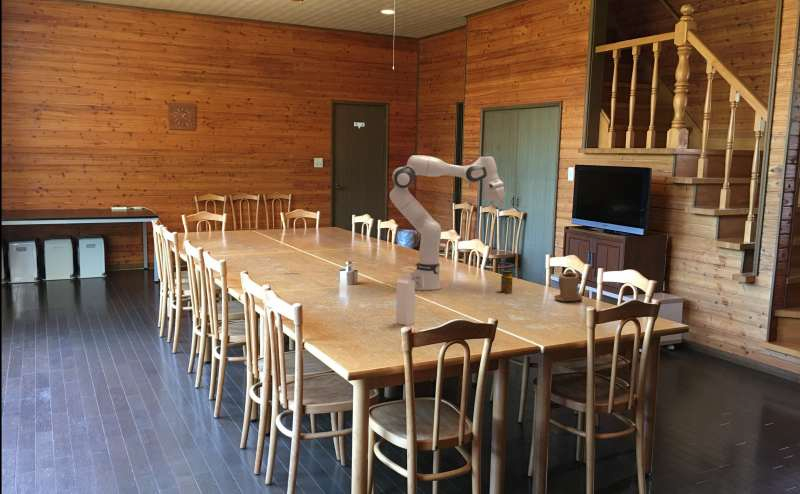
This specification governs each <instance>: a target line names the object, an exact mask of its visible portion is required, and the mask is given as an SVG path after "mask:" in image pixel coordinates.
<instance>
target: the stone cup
mask: <svg viewBox="0 0 800 494" xmlns="http://www.w3.org/2000/svg"><path fill="white" fill-rule="evenodd" d="M579 284H580V277H579V274H578V273H576V272H572V271H567V272H564V273H560V274H559V276H558V288H559V291H560V292H559V294H556V295H554V299H555V300H556V301H558V302H575V301H576V302H578V301H583V300H584V298H583V295H582V293H580V292H579V293H578V292H577V291H578V288H579V287H578V286H579Z"/></svg>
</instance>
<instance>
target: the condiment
mask: <svg viewBox="0 0 800 494" xmlns="http://www.w3.org/2000/svg"><path fill="white" fill-rule="evenodd" d="M513 279H514V278H513V272H512V271H511V270H502V275H501V280H500V281H501V282H500V290H499V291H496V294H500V295H510V294H515V291H513ZM503 293H504V294H503Z"/></svg>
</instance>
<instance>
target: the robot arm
mask: <svg viewBox="0 0 800 494" xmlns="http://www.w3.org/2000/svg"><path fill="white" fill-rule="evenodd" d="M416 176H423V177H430V178H431V177H432V178H433V177H434V178H435V177H436V178H437V177H441V176H452V177H456V178H457V177H458V178H461V179H463V180H464V181H466V182H468V183H478V182H479V181H481V180H482V182H483V185H484V186H483V187H484V190H483V191H484V196H485V200H486V201H488V202H489V203H490V205H491V207H492V209H495V208H497V205H496V204H495V202H498V209H499V210H500V209H503V208H504V206H503V204H504V202H503V201H505V200H506V191H505V188H504V185H505V184H504V181H502V180H501V178H500V176H499V174H498V168H497V164H496V161H495V158H494V157H493V156H492V155H481V156H479V158H477V160H476V161H474V162H473V163H471V164H466V165H456V164H451V163H447V162H445V161H443V160H442V159H441V158H437V157H435V156H430V155H421V154H420V155H418V154H417V155H416V154H414V155H410V157H409V158H408V159H407V163H406V165H405V166H398V167H396V168H395V169H394V170H393V172H392V176H391V177H392V182H393V188H392V189H391V190H390V192H389V199H390V201H391V202H392V204H393V205H394V206H395V208H396V209H397V210H398V211H399V213H401V214H402V215H403V217H404V218H405V219H407V221H409V224H411V225H412V226H413V227H414V228H415V230H417V231H418V233H419V235H420V242H419V243H420V245H419V249H418V250H419V255H418V256H419V259H418V263H417V262H416V263H415V267H416V269H414V270H413V271H412V272H410V273H409V274H408V275H410V276H411V279H412V280H413V281H415V290H418V291H431V290H434V291H436V290H440V289H441V288H442V286H441V281H440V260H439V259H440V246H441V237H442V236H441V235H442V227H441V224H440V223H439V222H438V221H436V220H435V219H434V217H432V215H430V213H429V212H428V211H427V210H426V209H425V208H424V206H423V205H422V204H421V203H420V202H419V201H418V200H417V199H416V197H414V196H413V195H412V193H411V192H410V191H409V189H408V188H409V187H410V186H411V185H412V184H413V181H414V179H415V178H416Z"/></svg>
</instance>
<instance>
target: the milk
mask: <svg viewBox="0 0 800 494" xmlns="http://www.w3.org/2000/svg"><path fill="white" fill-rule="evenodd" d="M415 294H416V289H415V281H413V280H412V279H411V276H410V275H409V274H403V273H401V274H400V278H398V280H397V281H396V295H395V296H396V298H395V300H396V306H395V310H396V313H395V323H396V324H397V323H399V325H402V324H404V325H403V326H409V325H412V324H415V306H416V305H415V303H416V295H415Z"/></svg>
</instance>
